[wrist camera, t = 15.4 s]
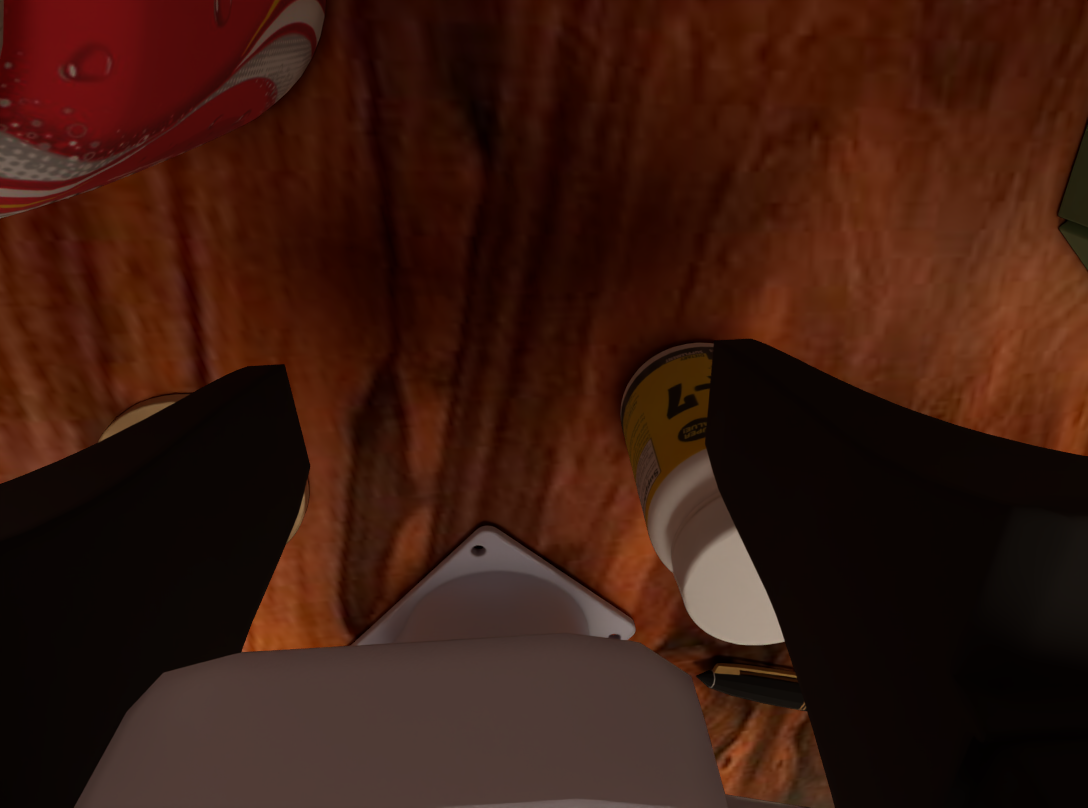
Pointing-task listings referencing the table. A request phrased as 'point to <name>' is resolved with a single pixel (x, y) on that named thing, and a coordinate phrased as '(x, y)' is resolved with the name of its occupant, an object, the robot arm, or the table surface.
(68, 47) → the soda can
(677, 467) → the supplement bottle
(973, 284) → the table surface
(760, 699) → the fountain pen
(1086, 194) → the ring
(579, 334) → the table surface
